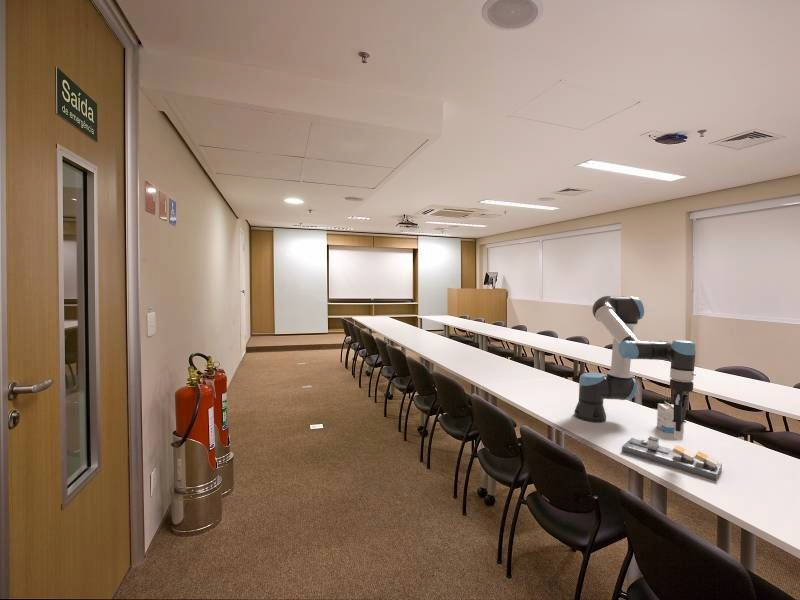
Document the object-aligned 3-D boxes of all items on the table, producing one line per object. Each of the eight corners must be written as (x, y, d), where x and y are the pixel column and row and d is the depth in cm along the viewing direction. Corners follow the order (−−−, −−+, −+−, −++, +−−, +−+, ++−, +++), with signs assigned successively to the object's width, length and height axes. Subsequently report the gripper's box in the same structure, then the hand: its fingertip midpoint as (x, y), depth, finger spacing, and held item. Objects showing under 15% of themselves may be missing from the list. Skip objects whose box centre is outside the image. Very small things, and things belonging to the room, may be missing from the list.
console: (621, 451, 161) (622, 443, 161) (631, 443, 170) (631, 435, 170) (716, 481, 139) (717, 471, 139) (721, 469, 148) (722, 460, 148)
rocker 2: (694, 458, 146) (695, 454, 146) (697, 453, 150) (698, 450, 150) (714, 468, 142) (716, 464, 142) (717, 463, 146) (718, 460, 145)
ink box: (683, 434, 183) (685, 406, 182) (664, 432, 184) (666, 405, 184) (674, 427, 191) (676, 401, 190) (656, 425, 193) (657, 399, 192)
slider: (647, 448, 159) (647, 438, 159) (649, 445, 161) (650, 436, 161) (656, 450, 156) (657, 440, 156) (658, 448, 159) (659, 438, 158)
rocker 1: (672, 451, 151) (673, 448, 151) (675, 447, 155) (676, 444, 155) (691, 461, 147) (692, 458, 147) (694, 457, 151) (695, 453, 151)
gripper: (689, 384, 144) (686, 446, 145) (696, 379, 153) (693, 437, 154) (666, 380, 149) (662, 439, 150) (674, 375, 158) (670, 431, 159)
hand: (678, 438), depth 152 cm, fingers closed
